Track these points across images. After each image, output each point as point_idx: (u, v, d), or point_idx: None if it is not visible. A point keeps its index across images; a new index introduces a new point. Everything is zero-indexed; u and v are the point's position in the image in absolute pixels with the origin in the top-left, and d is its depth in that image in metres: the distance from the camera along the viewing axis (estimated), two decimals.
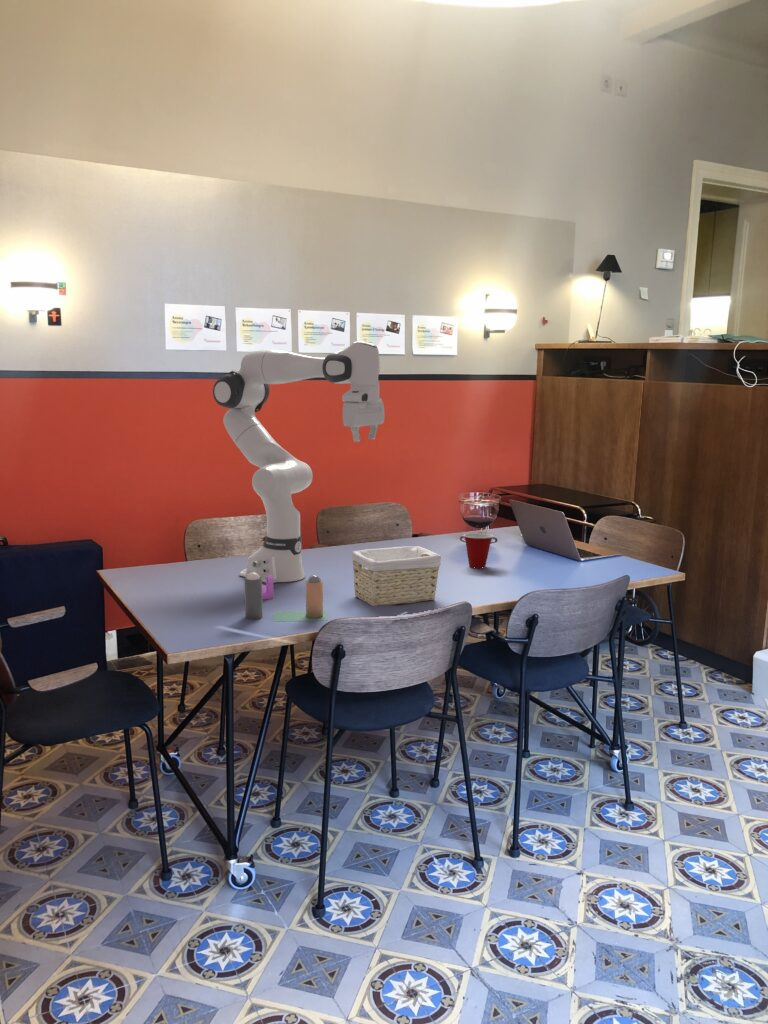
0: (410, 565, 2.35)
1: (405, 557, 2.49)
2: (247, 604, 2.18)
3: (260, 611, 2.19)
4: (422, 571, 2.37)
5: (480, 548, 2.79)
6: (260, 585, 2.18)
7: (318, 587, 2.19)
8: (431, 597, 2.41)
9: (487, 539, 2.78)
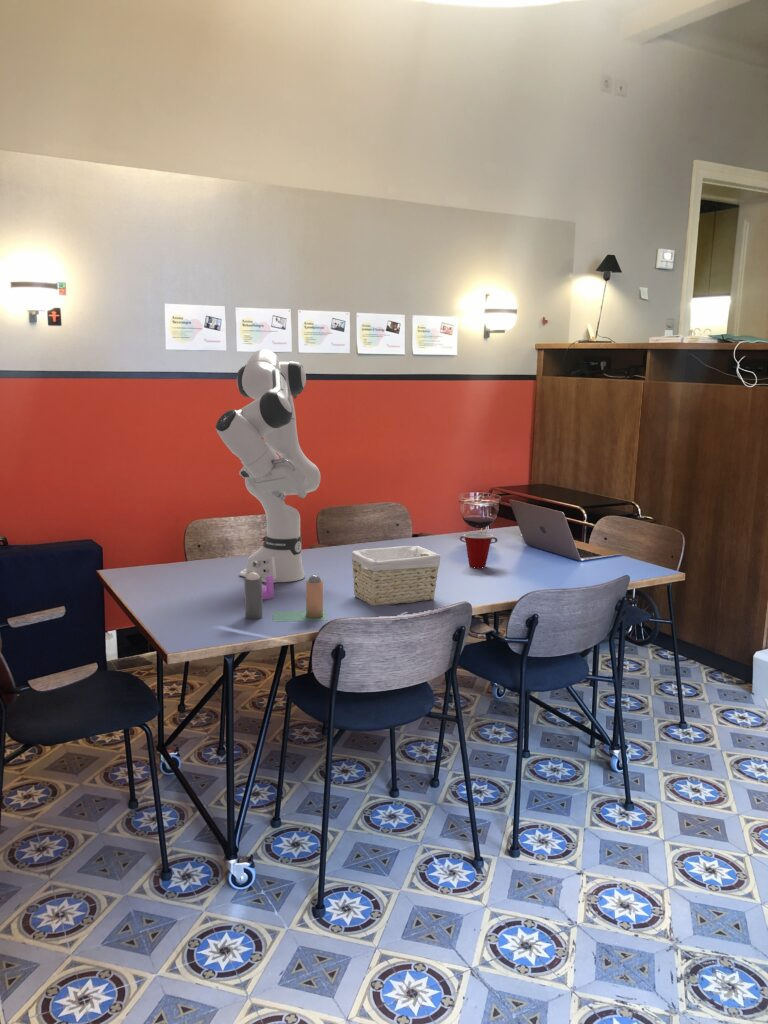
0: (410, 565, 2.35)
1: (404, 557, 2.49)
2: (247, 604, 2.18)
3: (260, 611, 2.19)
4: (422, 571, 2.38)
5: (480, 548, 2.79)
6: (260, 585, 2.18)
7: (318, 587, 2.19)
8: (430, 597, 2.42)
9: (487, 539, 2.78)
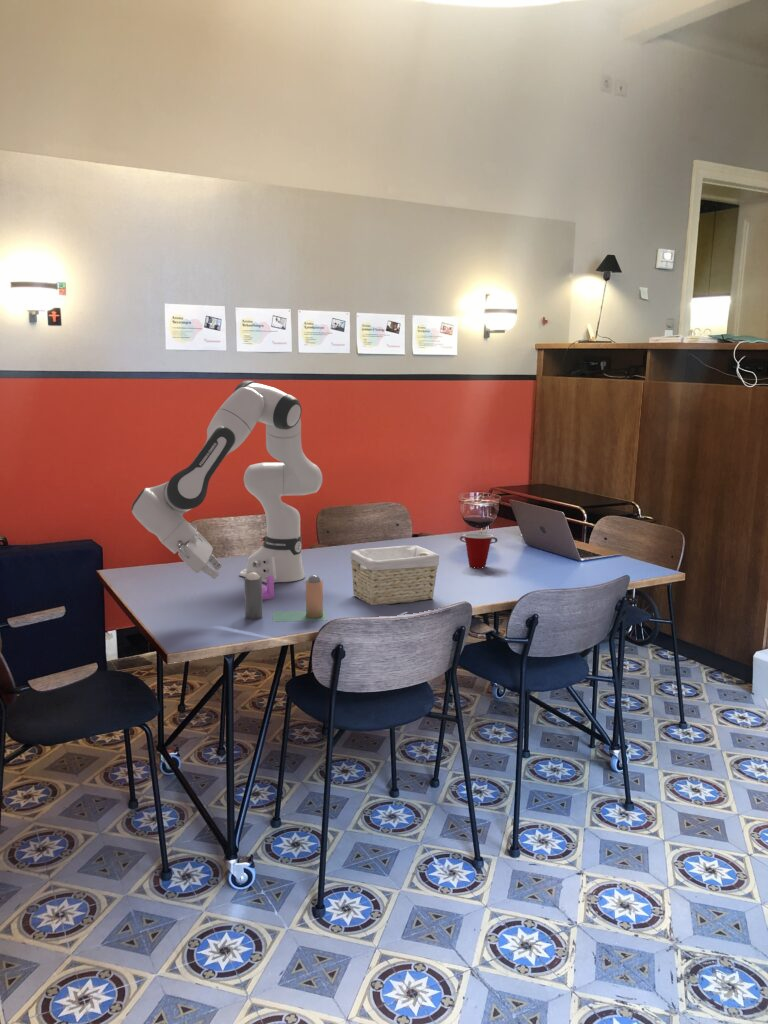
0: (409, 564, 2.35)
1: (403, 556, 2.50)
2: (247, 604, 2.18)
3: (260, 611, 2.19)
4: (420, 570, 2.38)
5: (480, 548, 2.79)
6: (260, 585, 2.18)
7: (318, 587, 2.19)
8: (429, 596, 2.42)
9: (487, 539, 2.78)
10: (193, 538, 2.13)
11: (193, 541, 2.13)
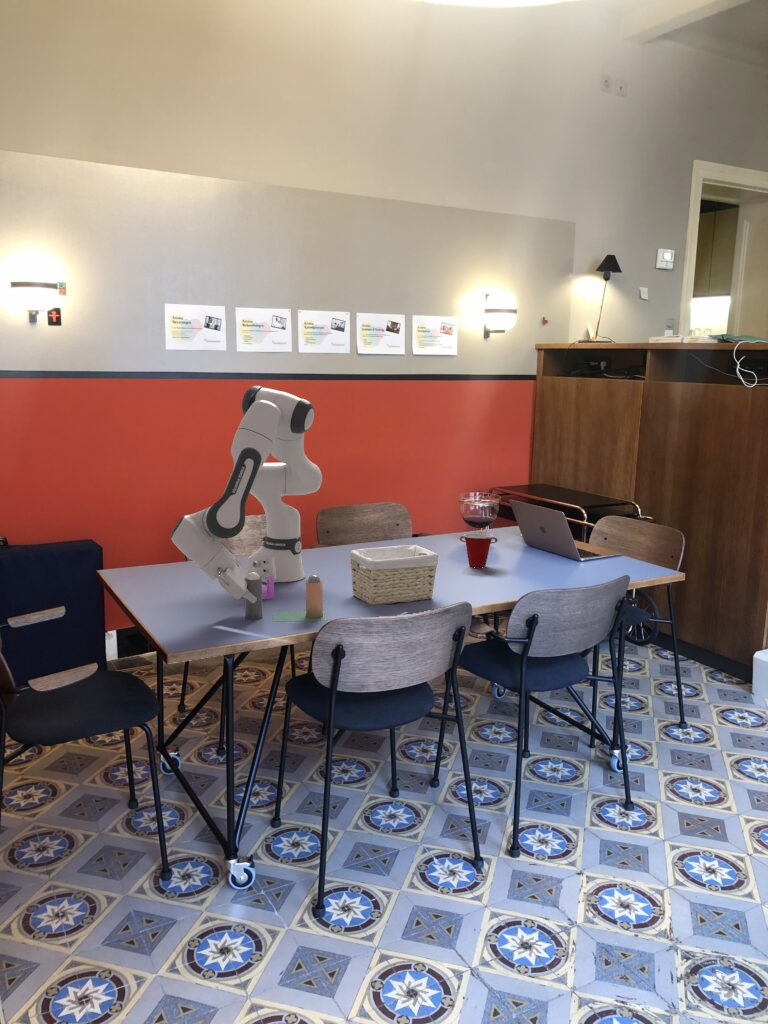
0: (408, 564, 2.36)
1: (403, 556, 2.50)
2: (247, 604, 2.18)
3: (260, 611, 2.19)
4: (420, 570, 2.39)
5: (480, 548, 2.79)
6: (260, 585, 2.18)
7: (318, 587, 2.19)
8: (429, 596, 2.43)
9: (487, 539, 2.78)
10: (231, 564, 2.15)
11: (232, 567, 2.15)
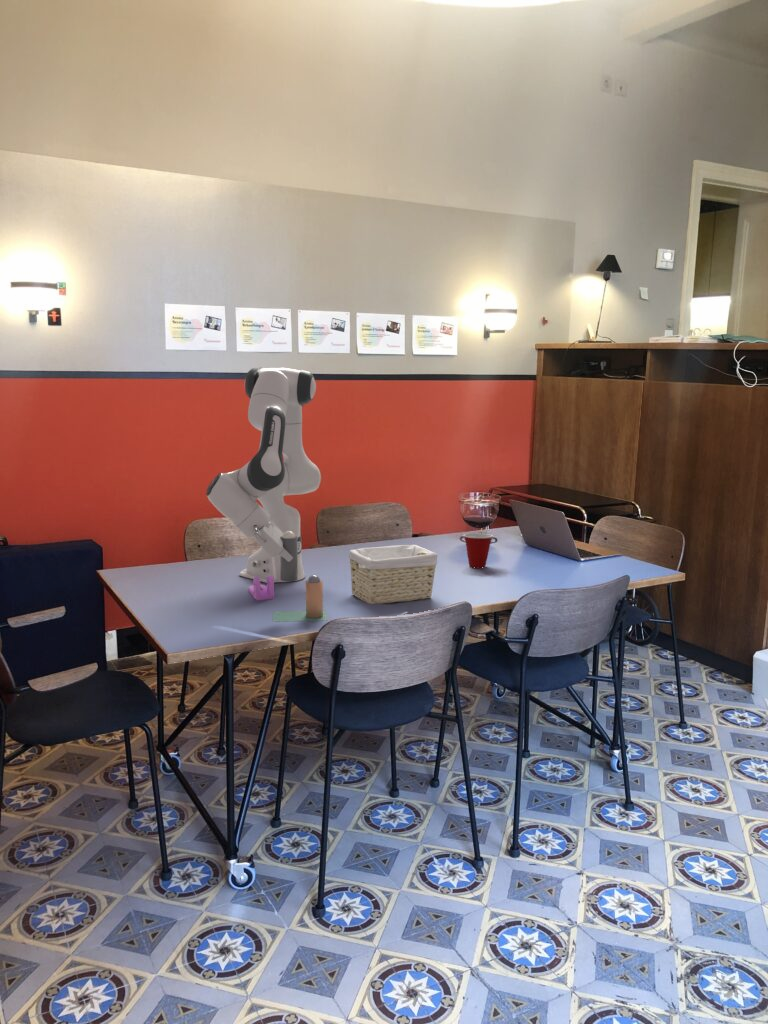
0: (407, 563, 2.36)
1: (402, 556, 2.51)
2: (282, 563, 2.17)
3: (295, 570, 2.18)
4: (419, 569, 2.39)
5: (480, 548, 2.79)
6: (296, 544, 2.17)
7: (318, 587, 2.19)
8: (428, 595, 2.43)
9: (487, 539, 2.78)
10: (267, 523, 2.15)
11: (267, 526, 2.14)
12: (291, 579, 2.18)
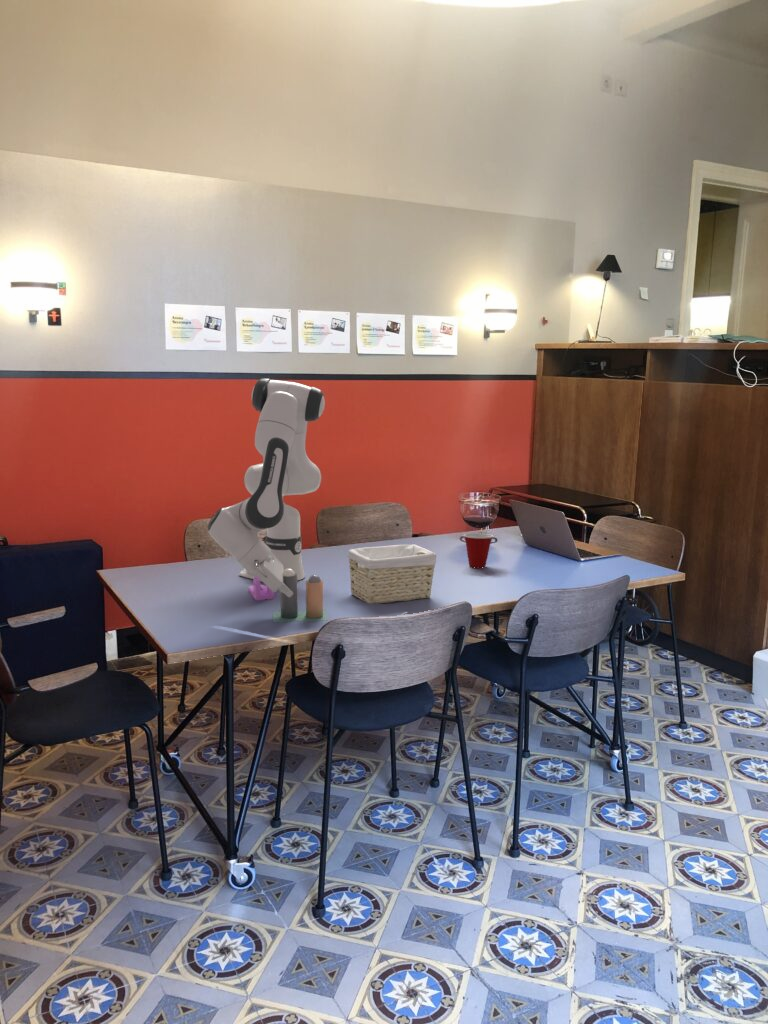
0: (406, 563, 2.37)
1: (401, 555, 2.51)
2: (282, 600, 2.19)
3: (296, 607, 2.20)
4: (418, 569, 2.40)
5: (480, 548, 2.79)
6: (296, 581, 2.19)
7: (318, 587, 2.19)
8: (427, 595, 2.44)
9: (487, 539, 2.78)
10: (268, 557, 2.16)
11: (268, 560, 2.16)
12: (291, 616, 2.20)
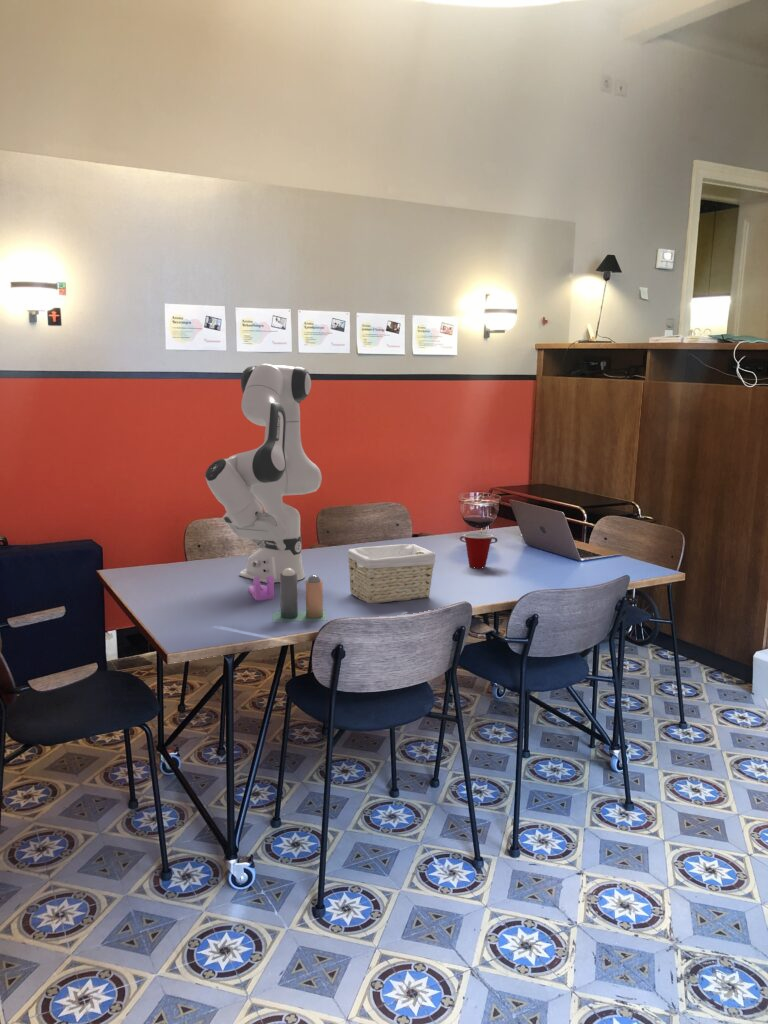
0: (405, 563, 2.37)
1: (400, 555, 2.52)
2: (283, 600, 2.19)
3: (296, 607, 2.20)
4: (417, 569, 2.40)
5: (480, 548, 2.79)
6: (296, 581, 2.19)
7: (318, 587, 2.19)
8: (426, 594, 2.44)
9: (487, 539, 2.78)
10: None
11: None
12: (291, 616, 2.20)
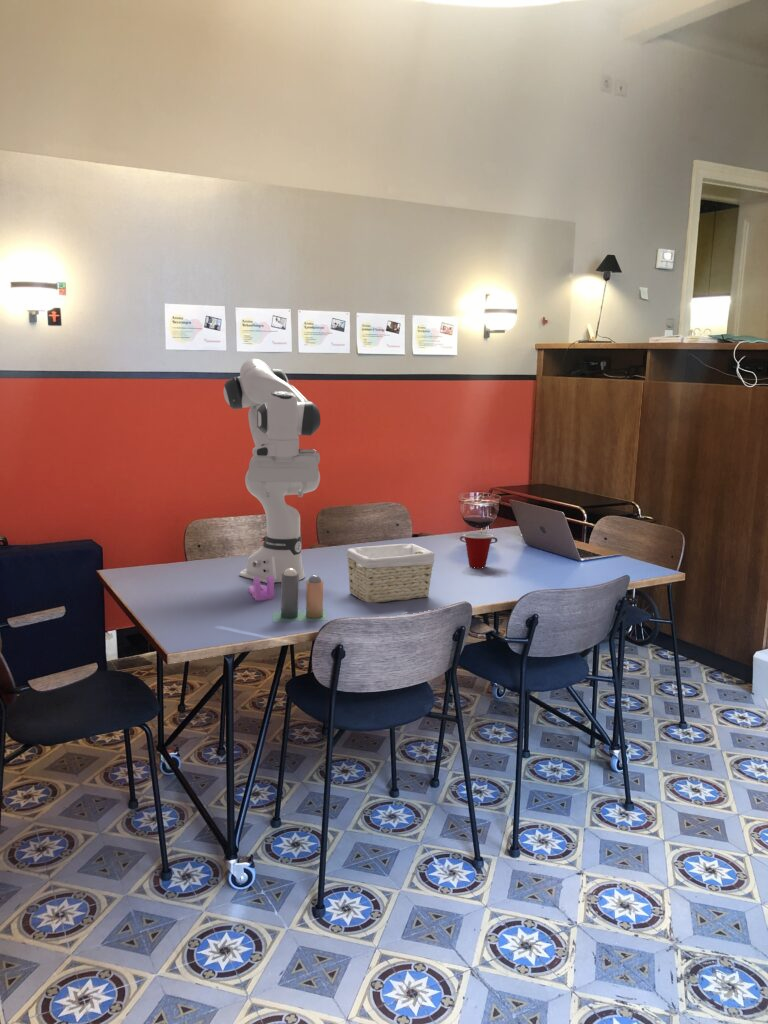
0: (404, 562, 2.38)
1: (399, 554, 2.52)
2: (283, 600, 2.19)
3: (296, 607, 2.20)
4: (416, 568, 2.41)
5: (480, 548, 2.79)
6: (297, 581, 2.19)
7: (319, 587, 2.19)
8: (425, 594, 2.44)
9: (487, 539, 2.78)
10: None
11: None
12: (292, 616, 2.20)
